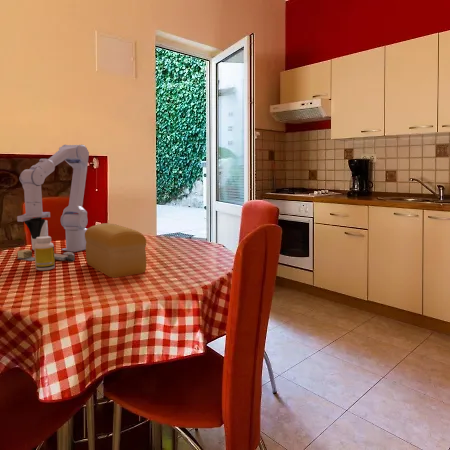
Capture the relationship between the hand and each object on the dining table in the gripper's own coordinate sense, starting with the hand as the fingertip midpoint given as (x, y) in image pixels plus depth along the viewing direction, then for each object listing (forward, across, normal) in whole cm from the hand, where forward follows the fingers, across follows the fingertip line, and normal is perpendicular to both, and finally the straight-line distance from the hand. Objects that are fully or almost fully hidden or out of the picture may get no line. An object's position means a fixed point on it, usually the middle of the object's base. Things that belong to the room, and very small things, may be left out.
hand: (35, 238), depth 148 cm
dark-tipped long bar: (+8, -6, +5) cm, 11 cm away
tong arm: (+8, -4, +4) cm, 10 cm away
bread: (+9, 0, +33) cm, 35 cm away
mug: (+9, -20, -14) cm, 26 cm away
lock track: (+8, -1, -5) cm, 10 cm away
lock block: (+8, -2, -7) cm, 11 cm away
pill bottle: (+9, +9, +11) cm, 17 cm away
